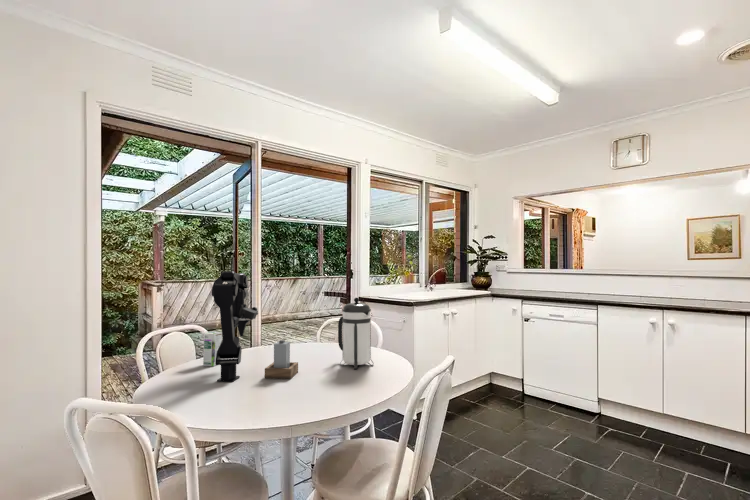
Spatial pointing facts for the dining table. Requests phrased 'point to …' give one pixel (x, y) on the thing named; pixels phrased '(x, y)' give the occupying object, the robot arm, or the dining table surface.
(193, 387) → the dining table surface
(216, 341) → the syrup box
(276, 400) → the dining table surface
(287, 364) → the plug
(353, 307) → the coffee press
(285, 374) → the socket
